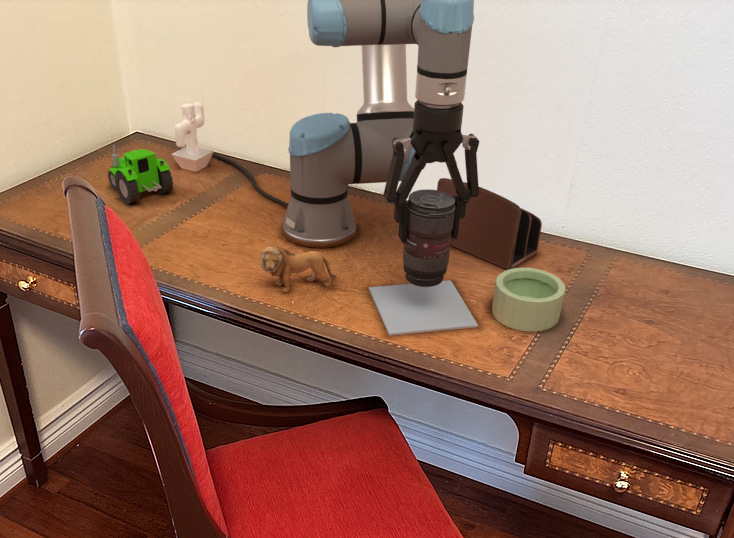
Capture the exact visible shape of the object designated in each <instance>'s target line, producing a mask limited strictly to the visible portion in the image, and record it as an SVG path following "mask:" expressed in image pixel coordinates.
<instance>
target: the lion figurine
mask: <svg viewBox="0 0 734 538" xmlns="http://www.w3.org/2000/svg"><path fill="white" fill-rule="evenodd" d="M259 262H260V263H259V265H260V267H261V269H262V270H263V271H264V272H266V273H269V274H271V276H272V277H276V278H277V277H278V280H277V281H276V282H275V285H276V286H278V287H280V286H283V287H282V288H281V291H282V292H283V293H287V292H289V290H290V279H291V276H292V274H300V273H303V272H306V271H307V270H309V269H310V270H311V271H312V275H311V276H308V277H307V278H306V279H307V281H308V282H313V281H314V280H316V278H317V276H319V277H321V278H323V279H325V280H326V281H325V282H324V283H323V286H324V287H325V288H329V287H331V285H332V279H336V278H337V276H336V274H332V270H331V266H330V263H329V260H328V259H327V257H326V256H325V254H323V253H321V252H319V251H316V250H309V251H306V252H301V253H293V252H291V251H289V250H288V249H286V248H282V247H279V246H276V245H275V246H273V245H270V246H269V245H268V246H265V247H264V248H263V249H262V250H261V251H260V255H259ZM325 267H326V268H325ZM326 270H327V271H326ZM331 278H332V279H331Z"/></svg>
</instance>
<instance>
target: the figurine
mask: <svg viewBox="0 0 734 538" xmlns="http://www.w3.org/2000/svg"><path fill="white" fill-rule="evenodd" d="M204 108H205V107H204V104H203V103H202V102H200V101H195V102H194V103H189V102H188V103H184V104H180V109H181V113H182V114H181V115H182V121H180V122H178V123H176V124H175V126H174V138H175V139H174V140H175V145H176V147H178V148H179V150H176V151H174V152H172V153H171V154H170V155H171V156H172V158H173V159H174V160H175V162H176V163H177V164H178V165H177V166H179V167H180V169H183V170H186V171H190V172H193V173H197V172H199V171H200V170H203V169H204V168H206V167H208V165H209V163H210V161H211V158H212V157H213V156H212V154H213V153H215V150H213V149H209V148H206V147H205V148H204V147H200V146H199V143H198V134H197V133H198V132H197V130H198V129H199V128H202V127H203V126H204V124H205V112H204V111H205V109H204Z"/></svg>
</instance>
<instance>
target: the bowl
mask: <svg viewBox="0 0 734 538" xmlns="http://www.w3.org/2000/svg"><path fill="white" fill-rule="evenodd" d="M565 284H566V283H564V282H563V280H562V279H561V278H560V277H558V276H557V275H556V274H554V273H551V272H549V271H546V270H544V269H538V268H534V267H515V268H513V269H509V270H506V269H505V270H504V271H502V272H501V273H499V274H498V275H497V276H496V279H495V283H494V290H493V297H492V304H491V314H492V316H493V317H494V319H495V320H496V321H498V322H499V324H502V325H504V327H505V326H506V327H507V328H510V329H513V330H518V331H521V332H543V331H547V330H550V329H551V328H553V327H555V326H556V325H557V324H558V322H559V320H560V318H561V314H562V308H563V304H564V299H565V294H566V291H567V290H566V285H565Z"/></svg>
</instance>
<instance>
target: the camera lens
mask: <svg viewBox="0 0 734 538" xmlns="http://www.w3.org/2000/svg"><path fill="white" fill-rule="evenodd" d="M406 202H407V204H408V206H409V213H408V227H407V242H406V243H403V245H404V247H403V254H402V263H403V271H404V273H405V274H404V275H405V280H406V281H407V282H408V284H413V285H415V286H419V287H433V286H436V285H439V284H440V283H441V282H442V281H444V278H445V275H446V273H447V270H448V266H449V261H450V250H451V249H450V247H451V246H450V241H451V232H452V229H453V224H454V215H455V200H454V198H453V197H452V196H451V195H450V194H448V193H445V192H442V191H438V190H437V189H430V188H429V189H418V190H414V191H411V192H410V194H409V196H408V198H407V200H406Z"/></svg>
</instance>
